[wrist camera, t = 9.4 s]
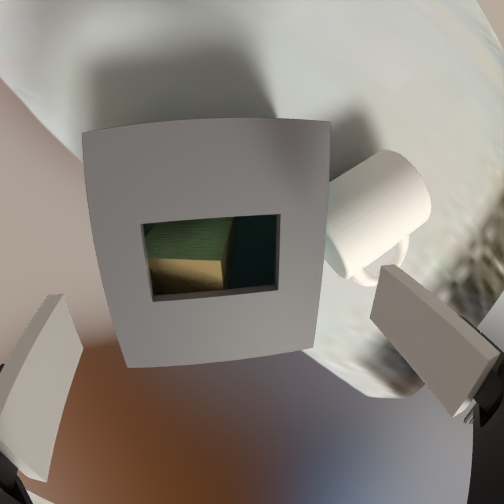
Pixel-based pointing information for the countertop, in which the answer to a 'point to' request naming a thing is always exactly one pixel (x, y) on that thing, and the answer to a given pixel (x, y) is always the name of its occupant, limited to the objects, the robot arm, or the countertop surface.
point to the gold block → (191, 254)
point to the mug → (373, 214)
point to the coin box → (212, 206)
